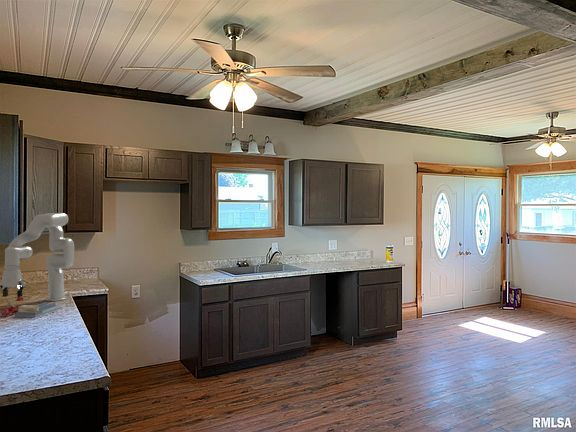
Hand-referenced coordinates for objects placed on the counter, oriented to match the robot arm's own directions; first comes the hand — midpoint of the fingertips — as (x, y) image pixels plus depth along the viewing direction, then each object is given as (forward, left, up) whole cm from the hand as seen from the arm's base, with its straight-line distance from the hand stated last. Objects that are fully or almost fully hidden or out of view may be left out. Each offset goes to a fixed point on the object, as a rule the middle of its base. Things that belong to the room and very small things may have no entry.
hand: (12, 296), depth 261 cm
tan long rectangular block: (+1, +12, -10) cm, 15 cm away
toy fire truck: (0, 0, -11) cm, 11 cm away
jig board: (-7, +12, -11) cm, 18 cm away
